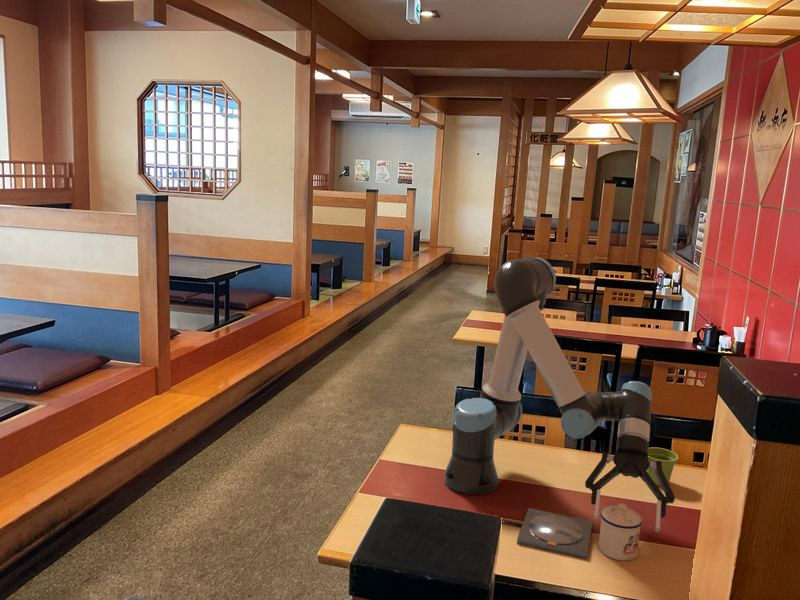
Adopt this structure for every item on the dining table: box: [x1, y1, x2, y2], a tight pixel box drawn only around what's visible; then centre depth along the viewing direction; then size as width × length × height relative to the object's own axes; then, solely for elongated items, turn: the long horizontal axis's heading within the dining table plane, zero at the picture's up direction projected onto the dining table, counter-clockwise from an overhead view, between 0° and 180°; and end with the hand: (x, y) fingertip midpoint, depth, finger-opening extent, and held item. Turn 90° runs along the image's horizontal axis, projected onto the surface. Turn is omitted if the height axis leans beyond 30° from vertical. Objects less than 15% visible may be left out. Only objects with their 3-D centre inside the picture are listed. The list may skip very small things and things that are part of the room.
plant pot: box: [646, 446, 679, 487], centre depth 186 cm, size 9×9×9 cm
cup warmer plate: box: [501, 507, 593, 560], centre depth 157 cm, size 23×16×2 cm
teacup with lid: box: [598, 502, 643, 561], centre depth 150 cm, size 12×9×12 cm
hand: (626, 524), depth 149 cm, fingers open, 13 cm apart
